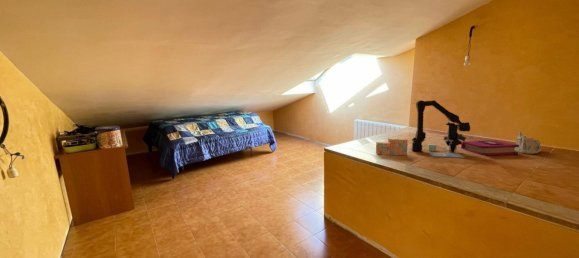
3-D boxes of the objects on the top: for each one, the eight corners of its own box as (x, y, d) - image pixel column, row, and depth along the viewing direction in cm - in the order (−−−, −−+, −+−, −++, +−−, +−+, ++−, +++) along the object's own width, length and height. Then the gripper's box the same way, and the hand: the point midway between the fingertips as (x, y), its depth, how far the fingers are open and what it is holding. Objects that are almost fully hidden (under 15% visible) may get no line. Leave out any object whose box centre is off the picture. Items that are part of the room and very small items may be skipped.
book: (460, 149, 197) (461, 140, 196) (493, 148, 198) (494, 139, 197) (482, 155, 176) (483, 145, 175) (519, 154, 178) (520, 144, 176)
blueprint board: (432, 157, 175) (432, 155, 175) (427, 153, 187) (428, 152, 187) (464, 158, 170) (464, 157, 170) (457, 154, 181) (457, 153, 181)
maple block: (448, 153, 184) (449, 146, 184) (446, 151, 189) (446, 145, 188) (456, 153, 183) (456, 147, 182) (453, 152, 188) (454, 145, 187)
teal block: (428, 151, 193) (429, 145, 192) (427, 149, 198) (427, 143, 197) (435, 151, 192) (436, 145, 191) (434, 149, 197) (434, 143, 196)
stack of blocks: (377, 155, 185) (378, 139, 184) (375, 153, 191) (376, 137, 190) (407, 155, 182) (407, 139, 181) (404, 153, 189) (405, 137, 187)
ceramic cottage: (521, 153, 179) (523, 133, 177) (510, 148, 194) (512, 130, 192) (549, 154, 174) (551, 134, 171) (536, 149, 189) (538, 130, 186)
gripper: (470, 133, 173) (468, 154, 175) (460, 129, 190) (458, 149, 192) (452, 133, 176) (451, 154, 178) (444, 129, 193) (442, 148, 195)
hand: (451, 151), depth 186 cm, fingers closed on maple block, 5 cm apart
